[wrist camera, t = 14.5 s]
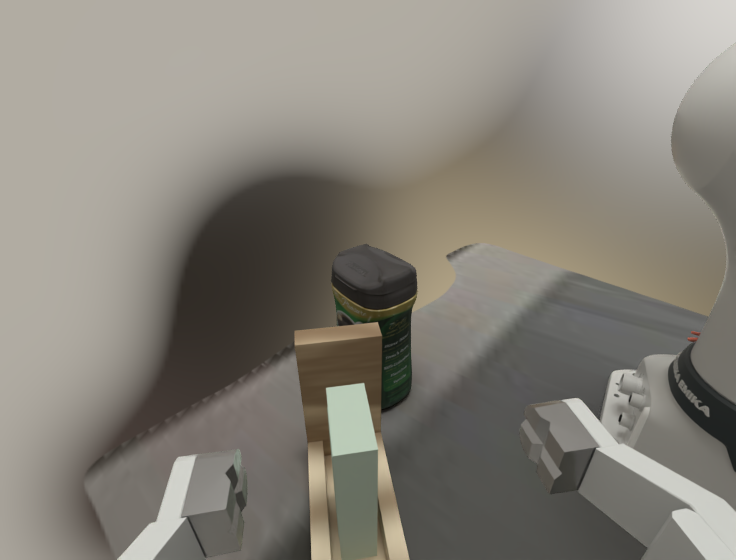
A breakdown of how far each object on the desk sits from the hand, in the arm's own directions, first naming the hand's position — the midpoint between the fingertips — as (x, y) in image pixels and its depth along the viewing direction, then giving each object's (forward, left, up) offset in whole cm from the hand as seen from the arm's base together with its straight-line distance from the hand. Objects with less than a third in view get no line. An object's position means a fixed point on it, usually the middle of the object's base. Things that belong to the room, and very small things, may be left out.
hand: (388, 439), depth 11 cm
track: (-11, -8, -28) cm, 31 cm away
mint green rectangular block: (-10, -7, -27) cm, 30 cm away
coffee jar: (-27, -12, -28) cm, 41 cm away
